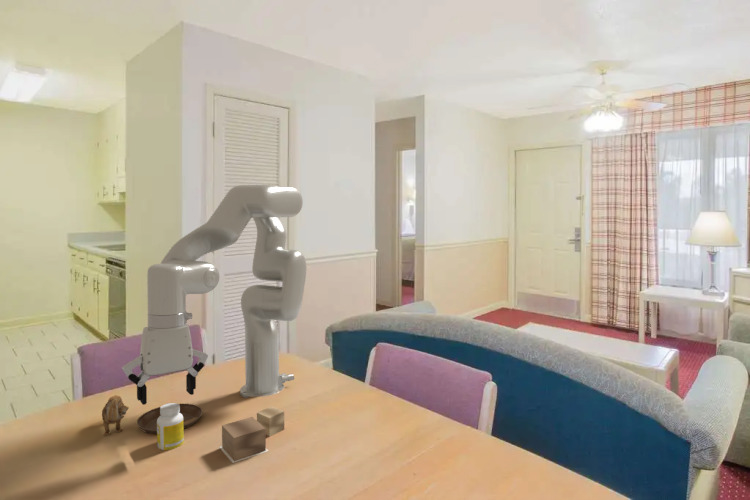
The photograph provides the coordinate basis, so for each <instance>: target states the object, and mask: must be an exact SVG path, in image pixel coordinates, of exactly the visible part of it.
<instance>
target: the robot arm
mask: <svg viewBox="0 0 750 500" xmlns="http://www.w3.org/2000/svg"><path fill="white" fill-rule="evenodd" d="M302 208H303V196H302V194H301V193H300V191H299V190H298V189H297V188H295V187H293V186H279V185H270V184H240V185H239V184H238V185H235V186H233V187H231V188H230V189H229V190H228V192H227V193H226V195H225V196H224V197H223V199H222V201H220V203H219V205H218V206H217V208H215V210H214V212H213V213H212V214H211V216H210V218H209V219H208V221H207V222H205V223H204V224H202V225H200V226H198V227H197V228H195V229H194V230H192V231H191V232H189V233H187V234H186V235H184V236H183V237H182V238H180V239H179V240H178V241H177V242H175V244H173V246H171V248H170V249H169V250H168V252H167V253H166V255H164V257H163V259H162V260H161V262H160V263H156V264H152V265H150V266H149V267H148V269H147V274H146V277H147V283H146V285H147V326H145V327H143V330H142V333H141V339H140V352H139V356H137V357H135V358H134V359H133V360H131V361H129V362H128V363H126V364H124V365H122V367H121V369H122V371H123V373H124V374H125V376H126V377H127V378H128V380H129V381H131V382H132V383H133V384H135V385H136V399H137V401H140V403H141V404H142V405H143V406H145V405H147V401H148V398H147V395H148V394H147V385H146V383H147V381H148V380H149V379H150V377H153V376H154V377H155V376H160V375H166V374H172V373H177V372H184V371H187V374H186V376H185V377H186V381H185V384H186V385H185V386H186V389H185V390H186V392H187V393H188V394H189V395H191V396H192V395H194V394H195V393H194V390H196V388H197V376H198V374H199V372H200V371H201V370H202V369H203V368H204V366H205V363H206V362H207V360H208V357H209V354H207V353H206V352H203V351H200V350H198V349H194V348H193V343H192V335H191V330H190V326H189V324H188V323H187V322H188V321H189V320H191V319H193V313H192V312H187V311H186V306H187V305H186V304H187V303H186V296H187V295H203V294H208V293H209V292H212V291H213V290H214V289H215V288H216V287H217V286H218V284H219V281H220V272H219V269H218V268H217V266H215V265H214V264H212V263H210V262H208V261H203V260H198V259H199V258H201V257H203V256H205V255H208V254H211V253H213V252H217V251H218V250H222V249H225V248H228V247H230V246H232V245H234V244H235V243H236V242H237V241H238V240H239V238H240V236H241V235H242V233H243V232H244V230H245V228H247V227H246V226H248V224H249V222H250V221H251V219H253V221H254V224H255V226H256V242H255V249H254V254H253V259H252V267H251V268H252V269H251V270H252V275H253V276H254V277H255V278H256V279H259V280H261V281H266V282H267V281H268V282H279V283H282V286H280V285H279V286H275V285H270V284H269V285H266V284H255V285H251V286H248V287H247V288H245V290H244V291H243V292H242V294H241V298H240V306H241V311H242V312H241V313H242V317H243V320H244V321H243V323H244V334H245V335H244V340H245V341H244V345H245V346H244V351H245V353H244V354H245V355H244V357H245V367H244V370H245V384H244V385H243V386H241V388H240V389H239V392H240V393H239V394H240V396H241V397H242V398H245V399H248V398H250V397H254V398H255V397H258V398H259V397H268V396H273V395H276V394H278V393H281V392H282V391H283V390H284V388H285V385H284V384H285V382H291V381H294V380H295V375H294V374H293V373H289V374H286V372H282V373H280V349H279V348H280V345H279V344H280V342H279V341H280V339H279V338H280V335H279V334H280V333H279V328H278V325H277V323H276V321H282V322H291V321H294V320H295V319H296V318H297V317H298V316H299V315H300V312H301V309H302V305H303V298H304V292H305V282H306V277H307V261H306V258H305V255H303V253H302V252H300V251H299V250H297V249H286V243H287V231H286V227H285V225H284V224H283V222H282V221H281V219H280V218H293V217H296V216H297V215H298V214H299V213H300V212H301V210H302ZM194 357H197V358H198V361H197V362H196V363H195V364H194V363H193V362H194ZM193 364H194V365H193ZM138 366H139V369H140V371H141V372H140V373H138V375H136V374H135V373H134V372H133V370H134V369H135V368H136V367H138Z"/></svg>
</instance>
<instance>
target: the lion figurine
mask: <svg viewBox="0 0 750 500" xmlns="http://www.w3.org/2000/svg"><path fill="white" fill-rule="evenodd" d="M128 410H129V406H127V405H125V403H124V402H123V399H122V397H121V396H120V395H117V394H115V395H112V396H110V397H109V399H108V400H107V402H106V403H105V405H104V407H103V408H102V410H101V416H102V421H103V427H104V432H103V436H110V433H111V430H110V427H109V426H110V425H113V424H115V429H114V430H115V431H116V433H121V432H123V429H122V428H121V422H122V419H124V417H125V415H126V414H127V411H128Z"/></svg>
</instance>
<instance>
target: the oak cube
mask: <svg viewBox="0 0 750 500" xmlns="http://www.w3.org/2000/svg"><path fill="white" fill-rule="evenodd" d="M256 420H257V421H258V422H259V423H260V424H261V425H262V426H263V427H265V428H266V437H272V436H274V435H276V434H278V433H280V432H282V431H284V430H285V410H282V409H280V408H278V407H275V406H273V405H272V406H269V407H266V408H265V409H262V410H260V411H257V412H256Z"/></svg>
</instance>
